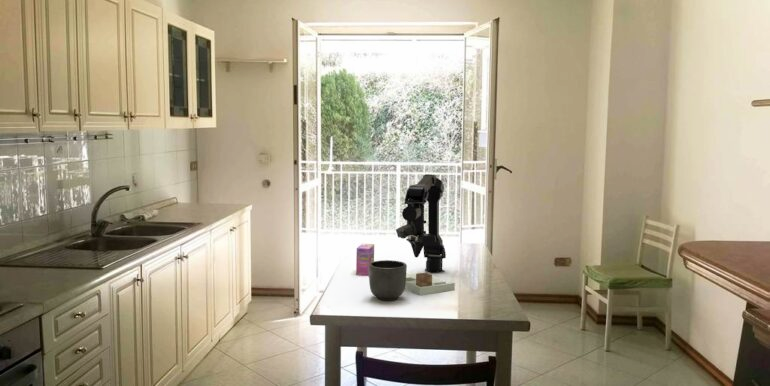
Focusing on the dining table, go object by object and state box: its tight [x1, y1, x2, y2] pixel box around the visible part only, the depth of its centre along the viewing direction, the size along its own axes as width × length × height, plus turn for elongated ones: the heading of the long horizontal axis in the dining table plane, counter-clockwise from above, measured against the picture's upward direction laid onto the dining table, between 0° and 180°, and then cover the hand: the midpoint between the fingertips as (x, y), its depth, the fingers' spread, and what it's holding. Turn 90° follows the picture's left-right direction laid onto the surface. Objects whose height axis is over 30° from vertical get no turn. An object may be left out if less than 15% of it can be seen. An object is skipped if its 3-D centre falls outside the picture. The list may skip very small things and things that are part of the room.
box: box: [355, 243, 375, 277], centre depth 266 cm, size 10×6×12 cm, turn 168°
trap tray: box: [405, 271, 456, 296], centre depth 246 cm, size 16×25×3 cm, turn 30°
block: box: [416, 272, 433, 287], centre depth 237 cm, size 4×4×4 cm
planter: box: [368, 259, 408, 302], centre depth 226 cm, size 14×14×13 cm
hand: (416, 257), depth 242 cm, fingers closed
